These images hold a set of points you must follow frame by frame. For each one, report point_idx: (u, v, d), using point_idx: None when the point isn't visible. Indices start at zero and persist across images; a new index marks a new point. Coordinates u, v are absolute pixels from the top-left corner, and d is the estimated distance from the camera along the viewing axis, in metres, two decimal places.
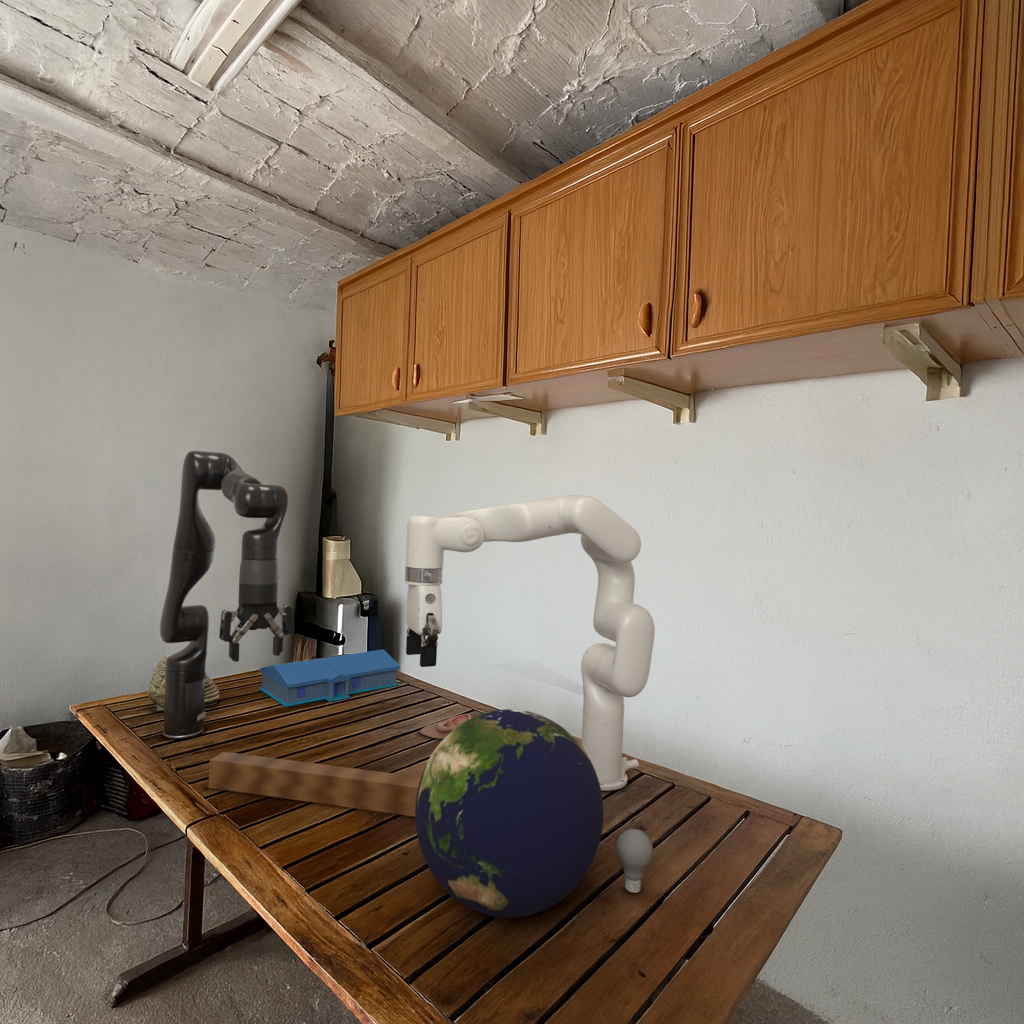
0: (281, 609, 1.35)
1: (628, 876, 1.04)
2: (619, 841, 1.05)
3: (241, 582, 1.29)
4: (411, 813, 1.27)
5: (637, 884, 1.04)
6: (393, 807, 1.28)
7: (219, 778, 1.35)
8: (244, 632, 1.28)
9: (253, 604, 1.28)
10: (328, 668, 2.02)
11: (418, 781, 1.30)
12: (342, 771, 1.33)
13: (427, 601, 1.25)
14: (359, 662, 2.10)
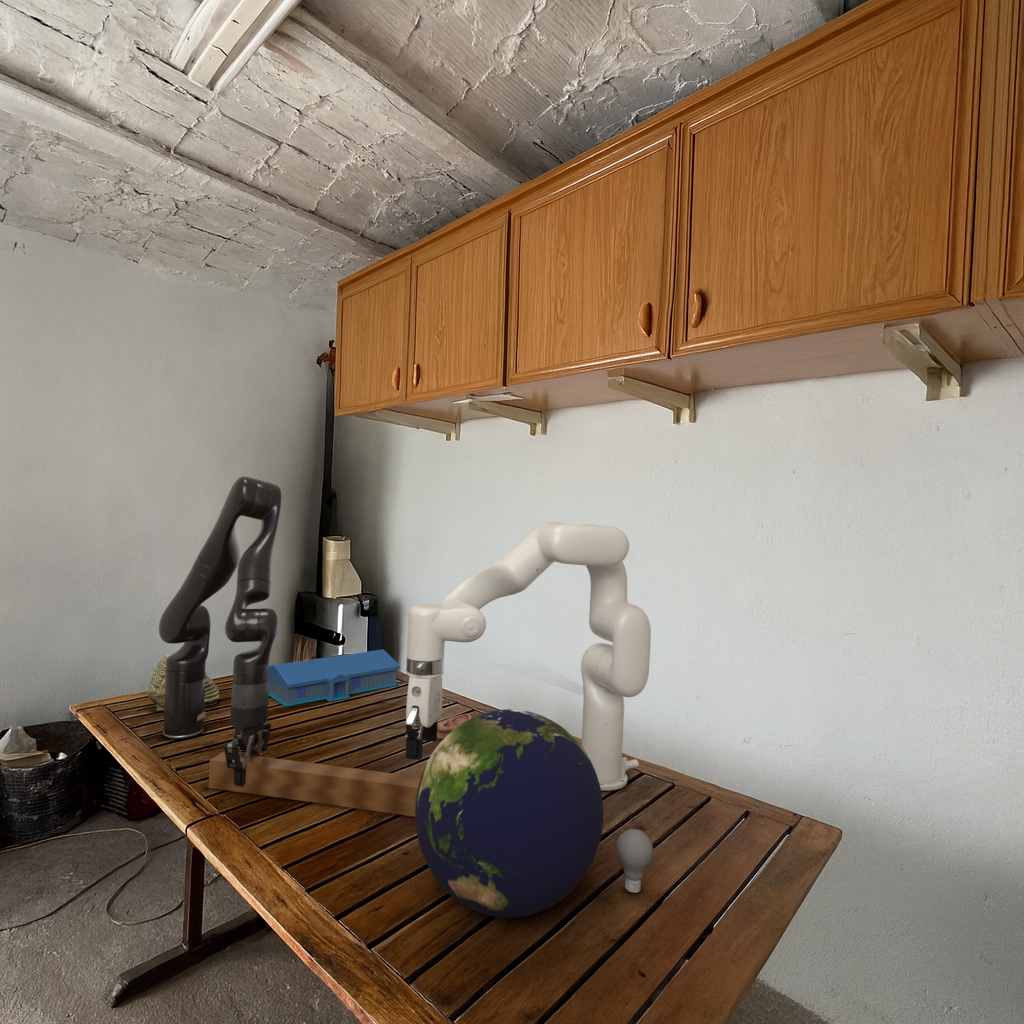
0: None
1: (628, 876, 1.04)
2: (619, 841, 1.05)
3: None
4: (411, 813, 1.27)
5: (637, 884, 1.04)
6: (393, 807, 1.28)
7: (219, 778, 1.35)
8: None
9: None
10: (328, 668, 2.02)
11: (418, 781, 1.30)
12: (342, 771, 1.33)
13: (416, 693, 1.25)
14: (359, 662, 2.10)
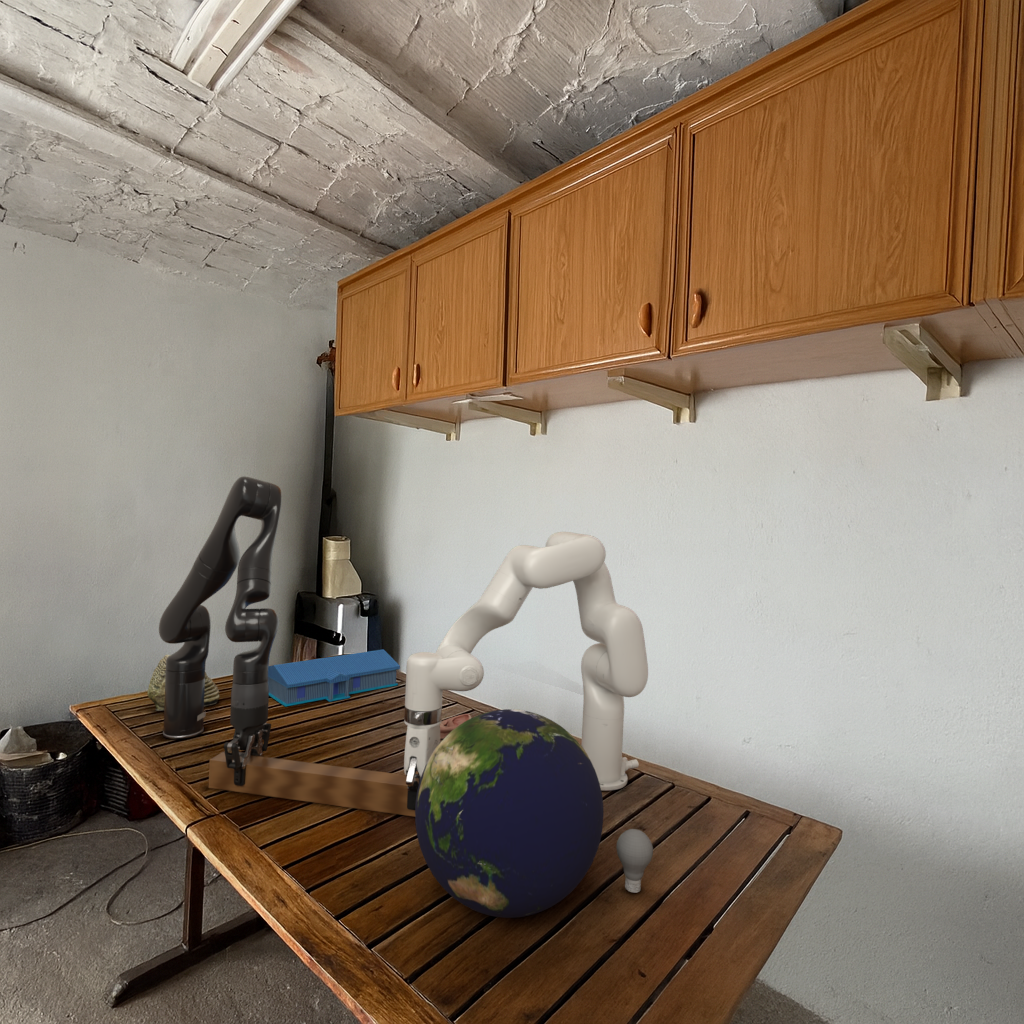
0: None
1: (628, 876, 1.04)
2: (619, 841, 1.05)
3: None
4: (411, 813, 1.27)
5: (637, 884, 1.04)
6: (393, 807, 1.28)
7: (219, 778, 1.35)
8: None
9: None
10: (328, 668, 2.02)
11: (418, 781, 1.30)
12: (342, 771, 1.33)
13: (414, 743, 1.25)
14: (359, 662, 2.10)
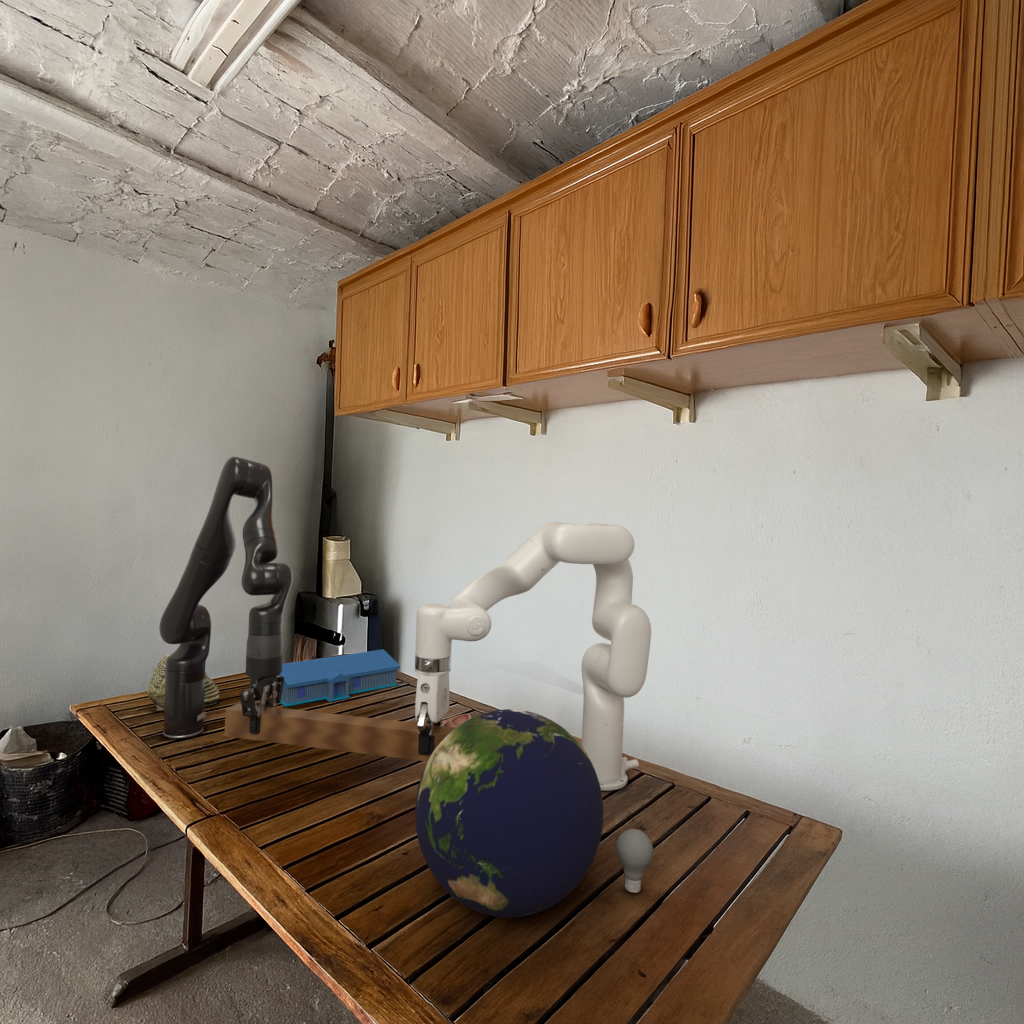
0: None
1: (628, 876, 1.04)
2: (619, 841, 1.05)
3: None
4: (421, 758, 1.32)
5: (637, 884, 1.04)
6: (404, 752, 1.32)
7: (235, 727, 1.39)
8: None
9: None
10: (328, 668, 2.02)
11: None
12: (354, 719, 1.37)
13: (425, 690, 1.30)
14: (359, 662, 2.10)
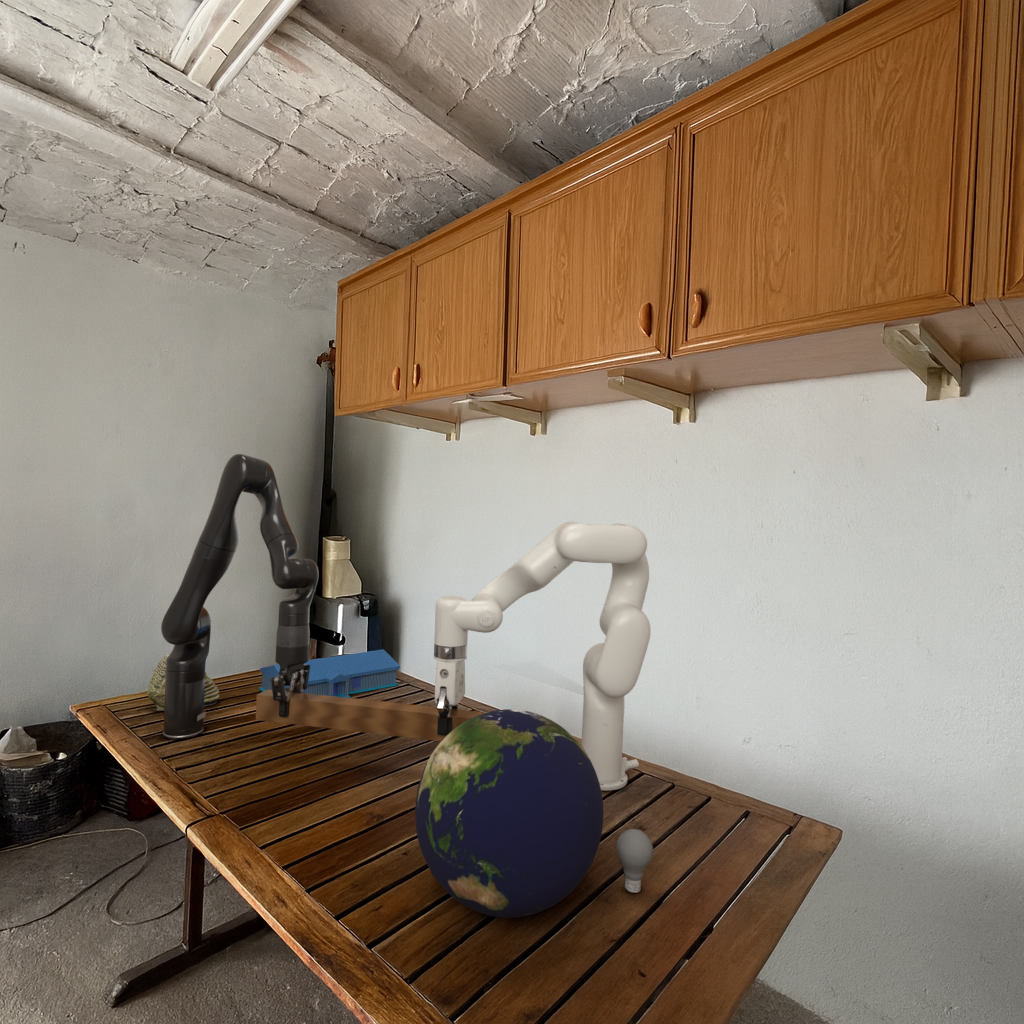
0: None
1: (628, 876, 1.04)
2: (619, 841, 1.05)
3: None
4: (440, 739, 1.42)
5: (637, 884, 1.04)
6: (424, 733, 1.43)
7: (265, 711, 1.50)
8: None
9: None
10: (328, 668, 2.02)
11: None
12: (377, 703, 1.48)
13: (444, 675, 1.41)
14: (359, 662, 2.10)
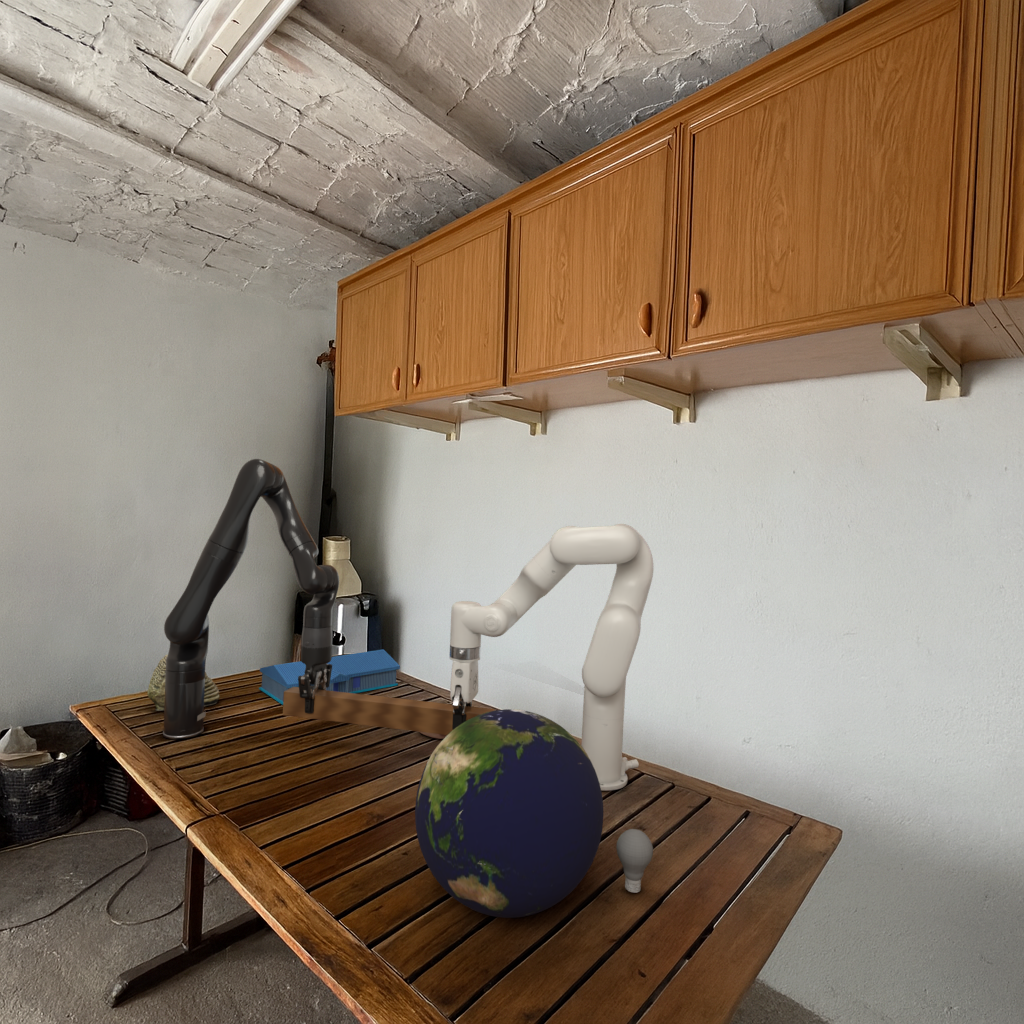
0: None
1: (628, 876, 1.04)
2: (619, 841, 1.05)
3: None
4: None
5: (637, 884, 1.04)
6: (440, 728, 1.54)
7: (292, 707, 1.61)
8: None
9: None
10: None
11: None
12: (396, 700, 1.58)
13: (459, 674, 1.51)
14: (359, 662, 2.10)
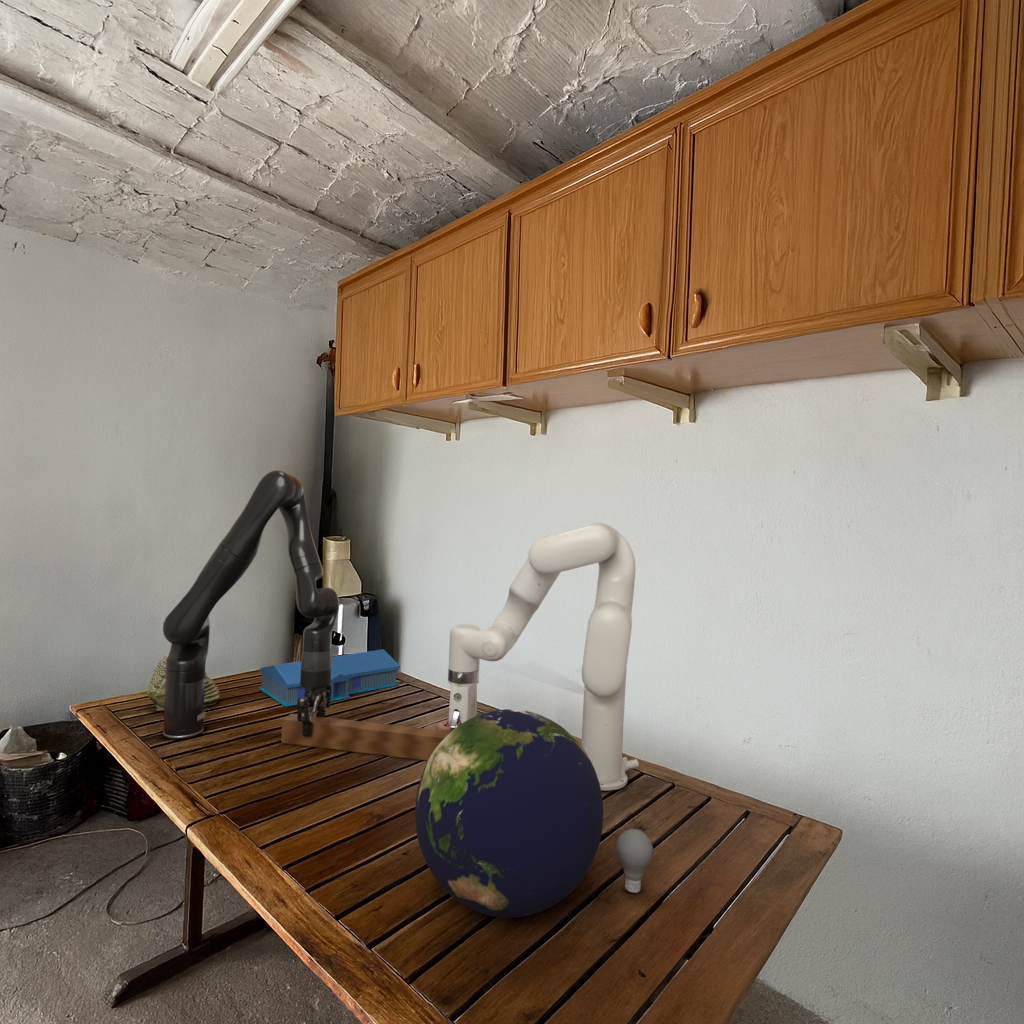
0: None
1: (628, 876, 1.04)
2: (619, 841, 1.05)
3: None
4: None
5: (637, 884, 1.04)
6: None
7: (290, 735, 1.61)
8: None
9: None
10: None
11: None
12: (394, 728, 1.58)
13: (457, 699, 1.51)
14: (359, 662, 2.10)
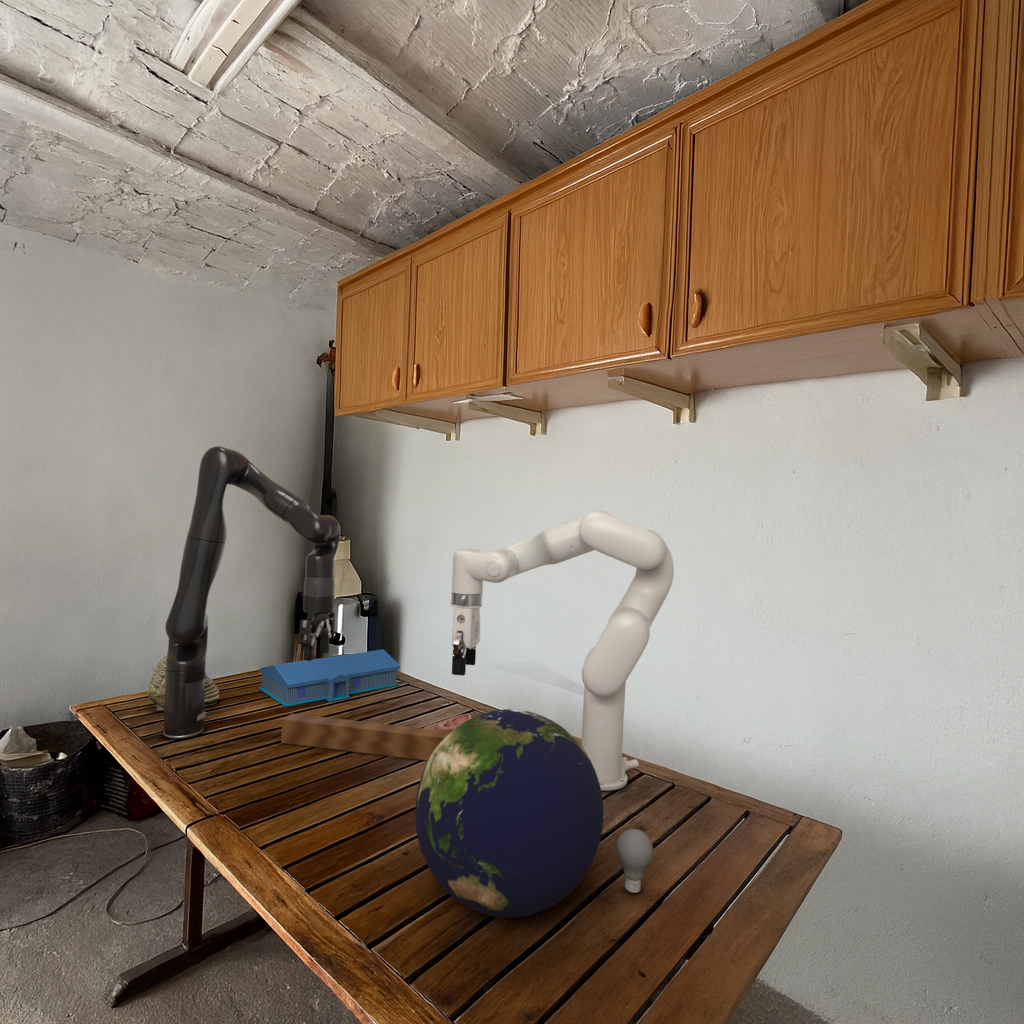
0: None
1: (628, 876, 1.04)
2: (619, 841, 1.05)
3: None
4: None
5: (637, 884, 1.04)
6: None
7: (290, 735, 1.61)
8: None
9: None
10: (328, 668, 2.02)
11: None
12: (394, 728, 1.58)
13: (460, 621, 1.51)
14: (359, 662, 2.10)
